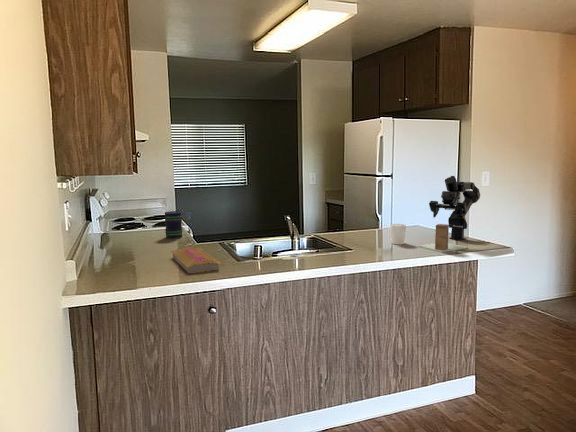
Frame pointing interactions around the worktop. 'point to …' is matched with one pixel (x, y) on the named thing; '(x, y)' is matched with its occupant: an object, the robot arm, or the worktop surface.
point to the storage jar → (173, 224)
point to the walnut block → (441, 236)
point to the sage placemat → (450, 248)
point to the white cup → (398, 233)
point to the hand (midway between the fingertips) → (442, 217)
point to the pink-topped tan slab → (195, 260)
